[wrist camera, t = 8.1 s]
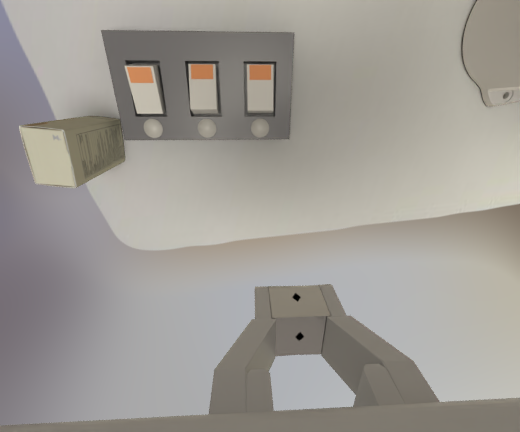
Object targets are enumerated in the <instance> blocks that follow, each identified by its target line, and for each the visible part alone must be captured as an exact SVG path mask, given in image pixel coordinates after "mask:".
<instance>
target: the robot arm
mask: <svg viewBox="0 0 520 432" xmlns="http://www.w3.org/2000/svg"><path fill="white" fill-rule="evenodd" d="M463 60H464V64H465V67H466V70H467V72H468V74H469V75H470V77H471V78H472V79H473V80H474V81H475V82H476V83H477V84H478V86H479V87H480V89H481V93H482V97H483V101H484V103H485V104H486V105H487V106H489V107H491V106H499V105H504V104H509V103H513V102H518V101H520V0H477V2H476V4H475V5H474V7H473V9H472V11H471V14H470V16H469V19H468V21H467V25H466V28H465V32H464V37H463ZM503 95H504V97H503ZM298 354H299V355H304V354H322V357H323V358H324V359H325V360H326V361H327V362H328V364H329V365H330V366H331V367H332V368H333V369H334V370H335V372H336V373H337V374H338V375H339V376H340V377H341V378H342V379H343V381H344V382H345V383H346V384H347V385H348V386H349V388H350V389H351V390H352V391H353V392H354V393H355V394H356V398H355V402H354V405H353V407H342V408H323V409H303V410H284V411H273V400H272V389H271V379H270V373H269V370H270V368H271V366H272V363H273V361H274V359H275V356H285V355H298ZM0 432H520V398H507V399H488V400H469V401H450V402H439V400H438V398H437V397H436V395H435V394H434V392H433V391H432V389H431V388H430V386H429V385H428V383H427V381H426V380H425V378H424V377H423V375H422V374H421V372H420V370H419V369H418V367H417V366H416V364H415V363H414V361H413V360H411V359H410V358H408V357H407V356H406V355H404V354H403V353H402V352H400V351H399V350H397V349H396V348H395V347H393V346H392V345H390V344H389V343H388V342H386V341H385V340H384V339H382V338H381V337H379V336H378V335H376V334H375V333H374V332H372V331H371V330H370V329H368V328H367V327H365V326H364V325H363V324H361V323H360V322H359V321H357V320H356V319H354V318H353V317H352V316H346V313H345V311H344V309H343V307H342V305H341V303H340V301H339V299H338V297H337V295H336V293H335V290H334V288H333V286H332V285H331V284H325V285H310V286H268V287H255V319H253V320H251V322H250V323H249V324H248V326H247V327H246V328H245V330H244V331H243V332H242V334H241V335H240V336H239V338H238V339H237V340H236V342H235V343H234V344H233V346H232V347H231V348H230V350H229V351H228V352H227V354H226V355H225V356H224V358H223V359H222V360H221V362H220V363H219V364H218V366H217V367H216V368H215V370H214V378H213V385H212V392H211V401H210V409H209V415H190V416H171V417H153V418H135V419H115V420H96V421H78V422H59V423H41V424H22V425H3V426H0Z"/></svg>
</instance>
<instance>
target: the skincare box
mask: <svg viewBox="0 0 520 432" xmlns="http://www.w3.org/2000/svg"><path fill="white" fill-rule="evenodd" d="M19 130H20V134H21V138H22V142H23V146H24V149H25V152H26V155H27V159H28V162H29V165H30V169H31V172H32V175H33V178H34V181H35V183H36V184H40V185H48V186H57V187H66V188H77V187H78V186H80V185H82V184H84V183H86V182H88V181H89V180H91V179H93V178H95V177H97V176H99V175H100V174H102V173H104V172H106V171H108V170H109V169H111V168H113V167H115V166H117V165H119V164H121V163H122V162H124V161H125V154H124V145H123V137H122V130H121V124H120V120H119V119H115V118H107V117H98V116H85V117H78V118H71V119H63V120H55V121H48V122H41V123H34V124H27V125H20V126H19Z"/></svg>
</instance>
